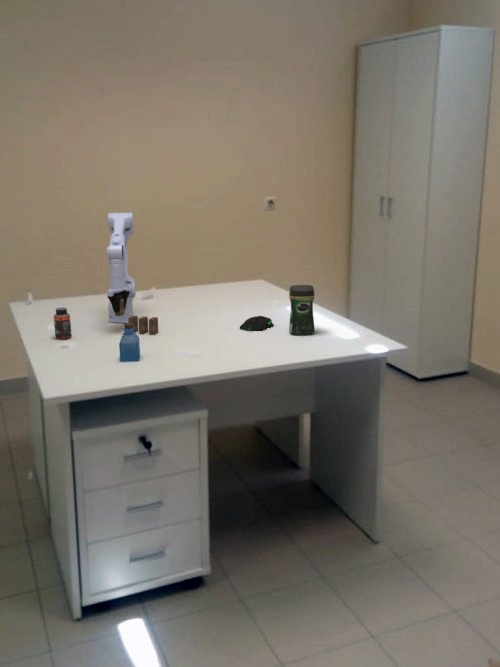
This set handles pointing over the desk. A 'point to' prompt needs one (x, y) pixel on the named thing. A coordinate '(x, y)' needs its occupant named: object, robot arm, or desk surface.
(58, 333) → the supplement bottle
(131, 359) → the perfume bottle
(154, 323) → the domino
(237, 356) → the desk surface
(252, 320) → the computer mouse
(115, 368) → the desk surface
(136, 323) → the domino
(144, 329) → the domino
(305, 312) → the coffee jar
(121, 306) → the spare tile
